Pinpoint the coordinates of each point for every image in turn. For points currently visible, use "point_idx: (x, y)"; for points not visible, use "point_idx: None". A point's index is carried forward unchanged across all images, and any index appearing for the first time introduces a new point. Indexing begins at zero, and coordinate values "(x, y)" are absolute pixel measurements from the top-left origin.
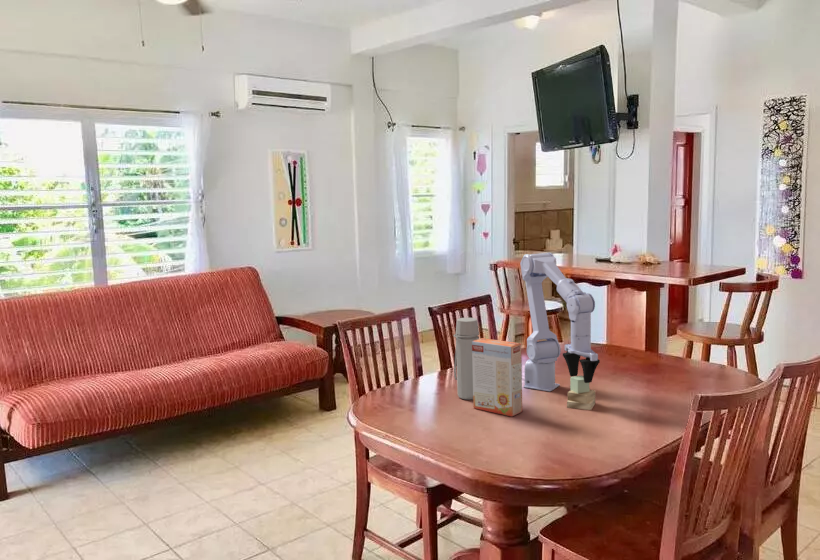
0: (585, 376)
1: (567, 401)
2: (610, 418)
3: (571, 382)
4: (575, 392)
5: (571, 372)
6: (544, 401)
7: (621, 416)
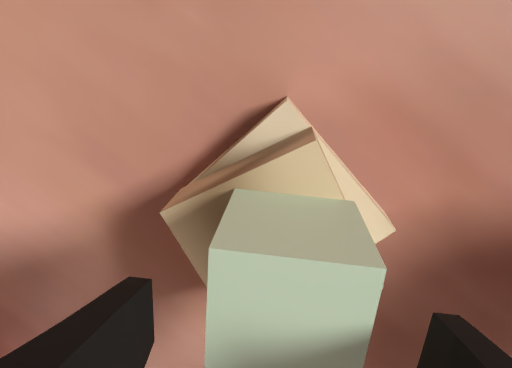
0: (61, 321)
1: (287, 105)
2: (18, 192)
3: (348, 234)
4: (267, 189)
5: (455, 355)
6: (500, 30)
7: (31, 256)
